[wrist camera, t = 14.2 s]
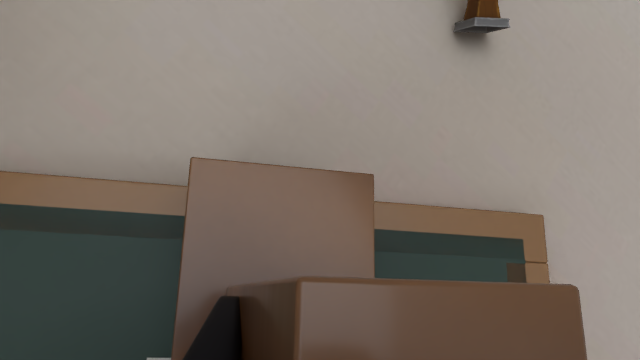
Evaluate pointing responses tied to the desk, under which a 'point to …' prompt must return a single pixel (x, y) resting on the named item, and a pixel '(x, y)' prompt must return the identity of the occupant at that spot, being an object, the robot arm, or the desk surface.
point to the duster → (342, 279)
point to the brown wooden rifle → (482, 17)
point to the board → (165, 255)
